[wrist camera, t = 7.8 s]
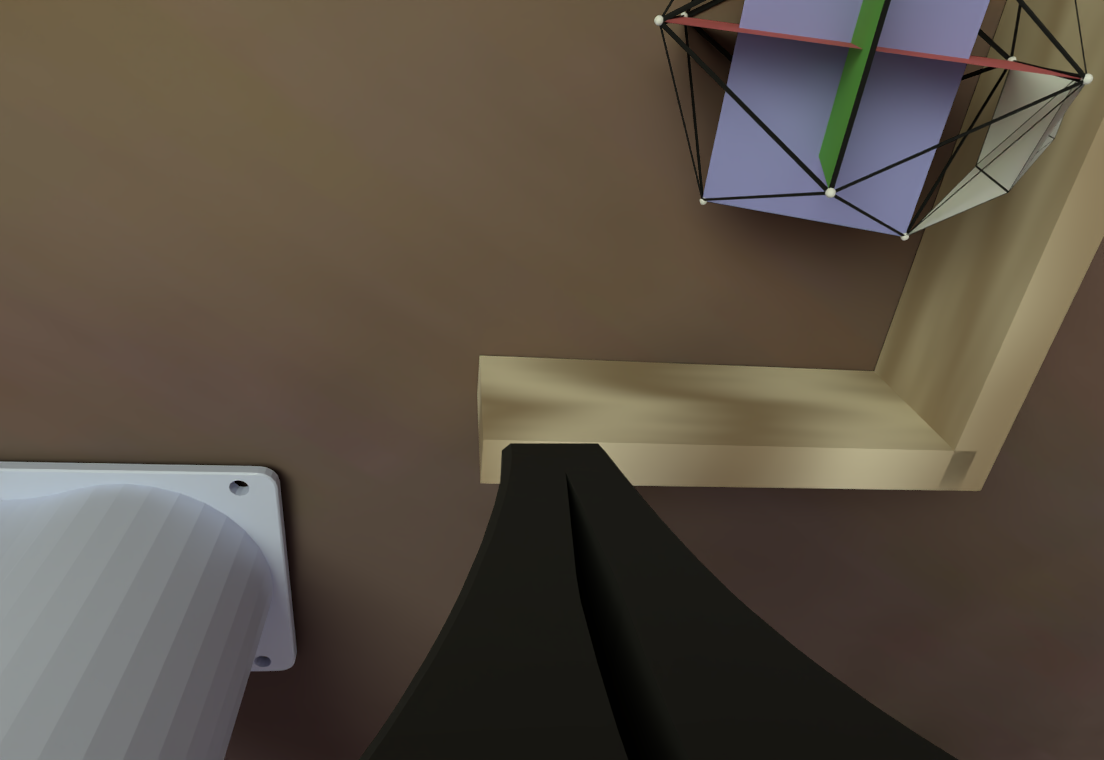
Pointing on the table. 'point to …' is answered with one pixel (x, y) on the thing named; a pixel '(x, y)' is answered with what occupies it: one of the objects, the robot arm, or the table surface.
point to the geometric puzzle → (866, 108)
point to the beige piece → (909, 349)
